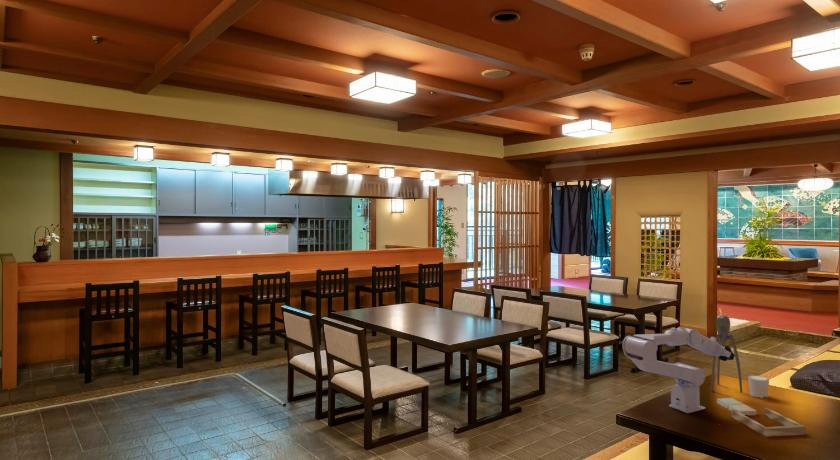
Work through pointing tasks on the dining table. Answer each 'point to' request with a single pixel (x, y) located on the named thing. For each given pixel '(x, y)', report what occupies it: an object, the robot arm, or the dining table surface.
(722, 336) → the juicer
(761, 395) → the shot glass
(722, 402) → the celadon tile
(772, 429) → the box
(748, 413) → the cream tile
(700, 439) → the dining table surface
